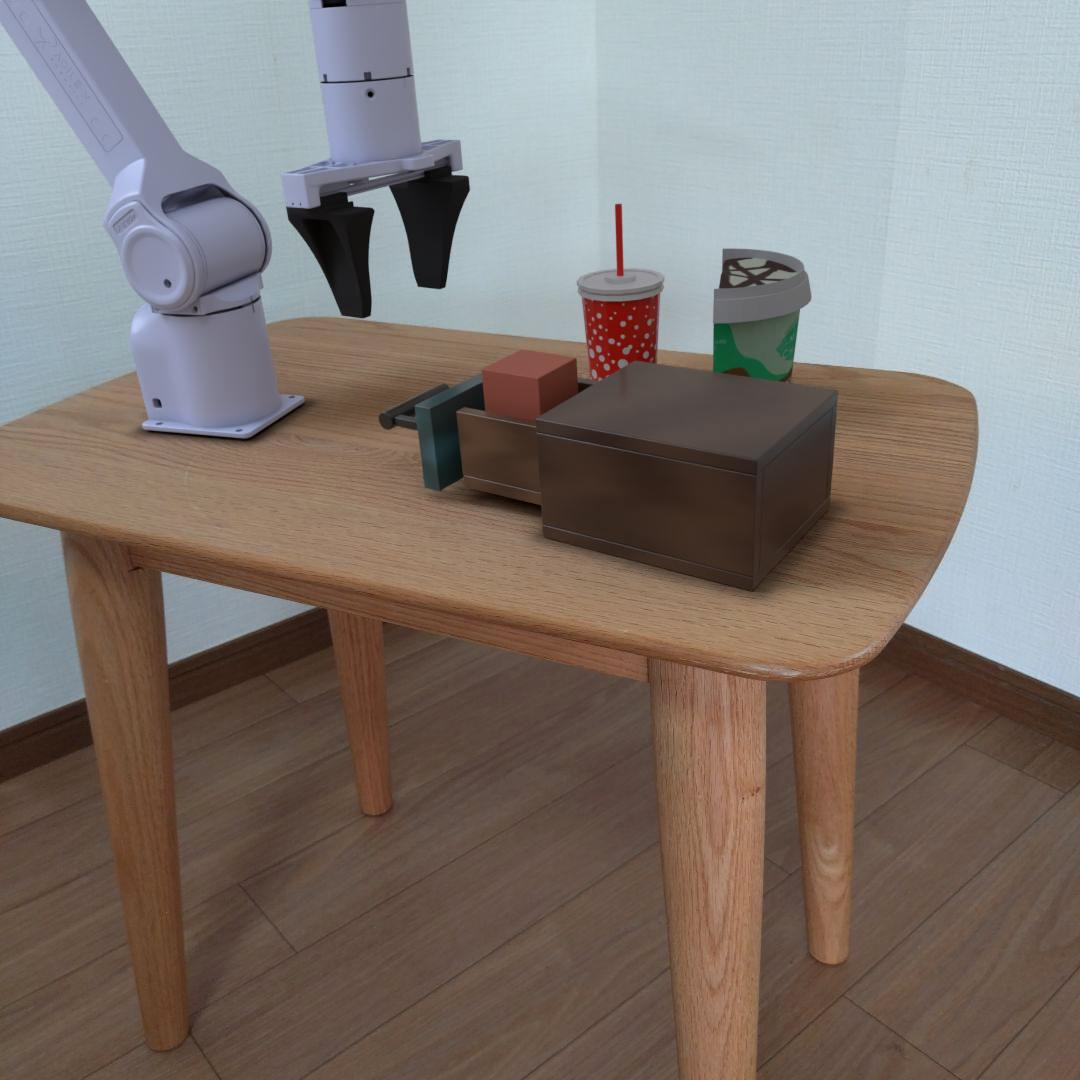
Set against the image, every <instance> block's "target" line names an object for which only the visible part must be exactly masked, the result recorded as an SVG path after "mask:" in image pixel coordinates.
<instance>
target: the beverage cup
mask: <svg viewBox="0 0 1080 1080" xmlns="http://www.w3.org/2000/svg"><path fill="white" fill-rule="evenodd" d="M614 216H615V217H614V221H615V226H614V227H615V257H616V268H610V269H602V270H597V271H591V272H588V273H585V274H584V275H581V276H579V278H578V279H577V280H576V286H577V293H578V295H579V296H580V297H581V304H582V305H581V306H582V315H583V321H584V322H583V324H584V334H585V342H586V351H587V362H588V371H589V379H592V380H598V381H601V380H602V379H604V378H606V377H607V376H609V375H611V374H613V373H614V372H616V371H618V370H619V369H621V368H623V367H625V366H626V365H628V364H630V363H632V362H633V361H641V362H648V363H655V364H658V350H659V349H658V347H659V345H658V344H659V328H660V306H661V294H662V293H663V290H664V289H665V285H664V282H665V275H664V274H663V273H661V272H659V271H656V270H653V269H647V268H635V267H630V268H629V267H624V234H623V204H622V203H614Z"/></svg>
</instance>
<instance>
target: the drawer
mask: <svg viewBox="0 0 1080 1080" xmlns="http://www.w3.org/2000/svg"><path fill="white" fill-rule="evenodd" d="M577 378H578V393H580V392H582V391H583V390H585V389H587V388H589V387H590V386H592V385H594V384H595V383H597V382H599V381H598V380H592V379H590V378H584V377H579V376H577ZM378 423H379V425H380V426H381V428H383V429H384V430H387V431H390V430H392V429H395V428H396V427H399V428H403V429H408V430H412V431H413V430H414V431H417V435H418V444H419V452H420V460H421V467H422V476H423V484H424V488H425V489H428V490H432V491H437V492H441V491H443V490H444V489H446V488H448V487H450V486H451V485H453V484H455V483H456V482H458V481H460V480H462V479H463V480H462V481H463V487H465V488H467V489H471V490H472V489H473V490H476V491H480V492H485V493H490V494H492V495H493V494H494V495H497V496H501V497H506V498H509V499H513V500H518V501H523V502H526V503H531V504H535V505H539V506H541V496H540V482H539V467H538V452H537V438H536V433H537V432H536V423H535V421H534V420H529V419H524V418H518V417H513V416H508V415H503V414H497V413H492V412H487V411H485V402H484V391H483V380H482V372H480V373H477V374H475V375H473V376H471V377H470V378H467V379H465V380H464V381H461V382H459V383H457V384H454V385H453V386H451V387H450V385H448V384H447V383H445V382H441V383H438V384H437V385H435V386H432V387H431V388H429V389H426V390H425V391H423V392H420V393H418V394H416V395H414V396H411V397H410V398H408V399H406V400H404V401H401V402H399V403H398V404H395V405H394V406H391V407H390V408H387V409H385V410H383V411H381V412H380V413H379V414H378Z"/></svg>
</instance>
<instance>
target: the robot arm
mask: <svg viewBox="0 0 1080 1080" xmlns="http://www.w3.org/2000/svg"><path fill="white" fill-rule="evenodd" d="M307 5H308V13H309V20H310V25H311V32H312V39H313V46H314V54H315V60H316V65H317V73H318V74H317V75H318V80H319V89H320V93H321V101H322V107H323V113H324V114H323V115H324V120H325V127H326V135H327V142H328V147H329V154H330V157H329V158H326V159H323V160H320V161H318V162H315V163H312V164H309V165H306V166H303V167H301V168H297V169H294V170H290V171H286V172H285V171H284V172H282V173H281V174H280V178H281V185H282V190H283V197H284V202H285V208H286V216H287V220H288V222H289V223H290V224H291V225H292V227H293V228H294V230H296V232H297V233H298V234H299V235H300V237H301V238H302V240H303V241H304V243H305V244H306V245H307V247H308V248H309V250H310V251H311V252H312V254H313V256H314V258H315V260H316V261H317V263H318V265H319V267H320V269H321V271H322V273H323V275H324V277H325V279H326V282H327V284H328V286H329V288H330V291H331V293H332V295H333V298H334V300H335V303H336V305H337V308H338V310H339V312H340V316H342V317H348V318H354V319H355V318H356V319H366V318H369V317H371V316H372V305H373V300H372V299H373V298H372V285H371V277H370V276H371V275H370V264H369V263H370V262H369V261H370V243H371V242H370V240H371V232H372V225H373V222H374V216H375V212H376V211H375V209H374V208H373V207H370V206H369V207H368V206H367V207H366V206H355V203H354V201H353V200H350V201H349V197H351V196H355V195H358V194H362V193H366V192H371V191H375V190H378V189H383V188H387V187H388V189H389V190H390V193H391V194H392V196H393V199H394V201H395V203H396V206H397V208H398V211H399V214H400V217H401V220H402V223H403V228H404V230H405V234H406V238H407V239H406V240H407V243H408V251H409V257H410V261H411V269H412V273H413V276H414V279H415V282H416V285H417V287H418V288H423V289H432V290H442V289H445V288H446V287H447V281H448V275H449V274H448V273H449V268H450V267H449V266H450V259H451V252H452V246H453V242H454V236H455V231H456V227H457V224H458V221H459V218H460V214H461V211H462V209H463V207H464V204H465V202H466V200H467V198H468V195H469V193H470V191H471V185H470V184H471V183H470V177H469V176H468V175H463V174H462V175H461V174H453V173H454V172H458V171H463V170H464V166H463V154H462V145H461V142H462V141H461V140H460V139H434V140H429V141H423V142H422V137H421V127H420V119H419V111H418V110H419V109H418V101H417V90H416V81H415V75H414V74H415V71H414V62H413V51H412V42H411V35H410V34H411V33H410V25H409V14H408V5H407V0H307ZM0 25H1V26H2V27H3V29H4V31H5V32H6V34H7V35H8V37H9V38H10V39H11V41H12V42H13V44H14V46H15V47H16V48H17V50H18V52H19V53H20V54H21V56H22V57H23V59H24V60H25V61H26V63H27V64H28V66H29V67H30V69H31V70H32V72H33V73H34V75H35V77H36V78H37V79H38V81H39V82H40V84H41V86H42V87H43V88H44V90H45V91H46V93H47V94H48V95H49V97H50V98H51V100H52V102H53V103H54V105H55V106H56V107H57V110H59V112H60V114H61V115H62V117H63V118H64V120H65V121H66V122H67V123H68V125H69V126H70V128H71V130H72V131H73V133H74V134H75V136H76V137H77V139H78V140H79V142H80V143H81V144H82V146H83V148H84V149H85V151H86V152H87V153H88V155H89V157H90V158H91V159H92V160H93V162H94V164H95V165H96V167H97V168H98V169H99V171H100V172H101V174H102V175H103V177H104V178H105V180H106V181H107V183H108V185H109V186H110V187H111V189H112V191H111V195H110V199H109V201H108V204H107V207H106V210H105V214H104V216H103V220H102V226H103V228H104V230H105V231H106V233H107V234H108V236H109V237H110V239H111V240H112V242H113V244H114V246H115V248H116V250H117V253H118V256H119V259H120V263H121V267H122V271H123V273H124V275H125V278H126V280H127V281H128V283H129V285H130V286H131V287H132V290H134V292H135V293H136V294H137V295H138V296H139V297H140V298H141V299H142V300H143V301H144V304H142V305H141V307H139V309H137V311H136V312H135V314H134V315H133V318H132V321H131V325H130V331H129V345H130V351H131V354H132V359H133V363H134V368H135V371H136V374H137V379H138V383H139V386H140V390H141V395H142V398H143V401H144V406H145V410H146V414H147V415H146V416H147V418H148V419H147V420H145V421H143V422H142V423H141V427H142V429H143V430H145V431H154V432H166V433H176V434H186V435H187V434H188V435H197V436H198V435H200V436H201V435H202V436H211V437H220V438H221V437H223V438H232V439H249V438H252V437H253V436H255V435H257V434H258V433H259V432H261V431H263V430H264V429H266V428H267V427H268V426H270V425H271V424H273V423H275V422H276V421H278V420H279V419H281V418H282V417H284V416H285V415H287V414H288V413H290V412H292V411H293V410H294V409H296V408H298V407H299V406H301V405H303V404H304V403H305V402H306V401H305V396H304V395H298V394H286V393H285V394H283V393H280V390H279V384H278V379H277V375H276V374H277V373H276V369H275V363H274V358H273V352H272V348H271V343H270V342H271V341H270V337H269V331H268V326H267V320H266V316H265V310H264V305H263V299H262V296H261V290H263V289H264V288H265V287H264V282H263V277H262V274H263V273H264V272H265V270H266V269H267V268H268V266H269V265H270V262H271V259H272V255H273V239H272V234H271V231H270V227H269V224H268V223H267V220H266V219H265V217H264V215H263V213H261V211H260V209H258V208H257V206H255V205H254V204H253V203H252V202H251V201H249V200H248V199H246V198H245V197H244V196H242V195H240V193H238V192H237V191H236V190H235V189H234V187H232V185H231V184H230V183H229V181H228V180H227V179H226V176H225V175H224V173H223V172H222V171H221V170H220V169H218V168H216V167H214V166H213V165H211V164H209V163H208V162H206V161H204V160H202V159H199V158H198V157H197V156H194V155H192V154H191V153H189V152H187V151H186V150H185V149H183V147H182V146H181V145H180V143H179V142H178V140H177V138H176V137H175V135H174V134H173V132H172V131H171V129H170V128H169V125H167V122H166V121H165V119H164V118H163V117H162V116H161V114H160V112H159V111H158V109H157V108H156V105H154V102H153V101H152V99H150V97H149V95H148V94H147V92H146V91H145V89H144V88H143V86H142V85H141V83H140V81H139V80H138V78H137V77H136V76H135V73H134V72H133V71H132V70H131V67H129V65H128V63H127V62H126V60H125V58H124V57H123V56H122V54H121V52H120V51H119V49H118V48H117V46H116V45H115V43H114V42H113V39H112V38H111V37H110V36H109V34H108V32H107V31H106V29H105V28H104V26H103V25H102V23H101V22H100V20H99V18H98V16H97V15H96V14H95V12H94V11H93V10H92V7H91V6H90V5H89V3H88V2H87V0H0ZM371 178H372V179H371Z"/></svg>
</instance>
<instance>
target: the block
mask: <svg viewBox="0 0 1080 1080" xmlns="http://www.w3.org/2000/svg"><path fill="white" fill-rule="evenodd" d="M577 360H578V358H577V357H574V356H569V355H568V356H567V355H561V354H553V353H547V352H540V351H534V350H526V349H519V350H518V351H515V352H513V353H511V354H509V355H507V356H505V357H503V358H501V359H499V360H497V361H495V362H493V363H491V364H489V365H486V366H484V367H483V368H481V373H482V380H483V391H484V402H485V411H487V412H492V413H497V414H503V415H508V416H513V417H518V418H524V419H529V420H534V421H535V419H536V418H537V417H539V416H540V415H542V414H544V413H546V412H547V411H549V410H551V409H552V408H554V407H556V406H558V405H559V404H561V403H563V402H564V401H566V400H568V399H570V398H571V397H573V396H575V395H576V394H578V378H577V377H578V361H577Z"/></svg>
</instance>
